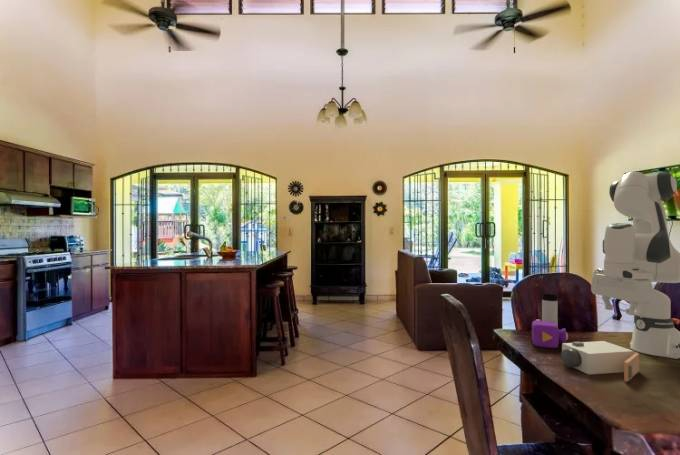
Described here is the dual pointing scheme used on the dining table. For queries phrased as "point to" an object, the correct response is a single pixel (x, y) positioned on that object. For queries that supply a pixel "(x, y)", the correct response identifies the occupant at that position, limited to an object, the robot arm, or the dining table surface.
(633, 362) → the side door
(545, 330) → the toy camera
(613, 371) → the white projector
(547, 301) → the travel mug
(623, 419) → the dining table surface
